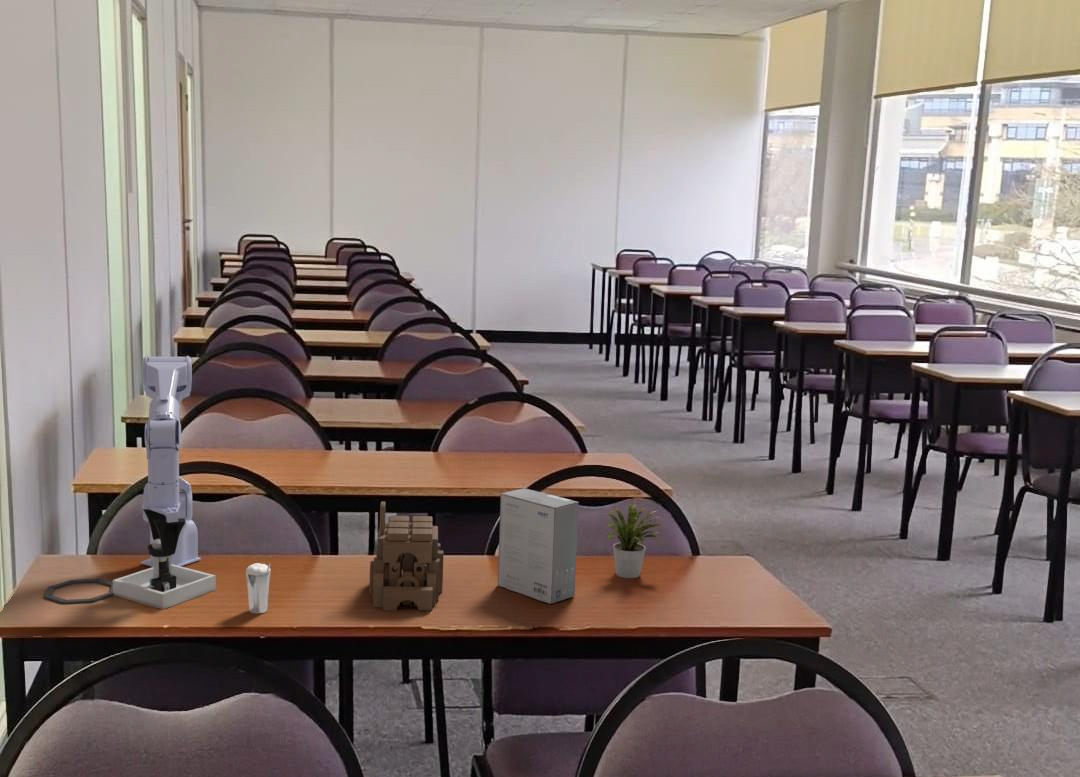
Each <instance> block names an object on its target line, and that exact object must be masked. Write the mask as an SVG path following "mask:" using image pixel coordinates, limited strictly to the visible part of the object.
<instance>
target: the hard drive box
mask: <svg viewBox="0 0 1080 777" xmlns="http://www.w3.org/2000/svg"><path fill="white" fill-rule="evenodd" d="M499 498H500V501H499V502H500V504H499V506H500V507H499V530H498V532H499V534H498V536H499V537H498V538H499V539H498V561H497V562H498V564H497V568H498V570H497V586H499V587H502V588H505V589H507V590H510V591H512V592H516V593H518V594H521V595H523V596H526V597H529V598H532V599H534V600H537V601H540V602H544V603H546V604H549V605H550V604H555V603H557V602H561V601H564V600H566V599H570V598H573V597H575V595H576V575H577V574H576V573H577V571H576V569H577V548H578V525H579V524H578V522H579V520H578V519H579V503H580V502H579V501H575V500H572V499H568V498H564V497H561V496H557V495H553V494H551V493H550V494H548V493H546V492H540V491H538V490H532V489H528V488H519V489H514V490H511V491H506V492H502V493H500V497H499Z"/></svg>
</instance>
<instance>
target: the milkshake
mask: <svg viewBox="0 0 1080 777" xmlns="http://www.w3.org/2000/svg"><path fill="white" fill-rule="evenodd" d="M271 564H272V563H271V562H270V563H268V565H267V564H265V563H260V562H259V563H258V562H255V563H253V564H250V565H248V567H247V568H246V569H245V574H246V585H247V597H248V608H249V609H248V610H249V612H250V613H251V614H255V615H256V614H264V613H266V612H267V611H268V603H269V591H270V590H269V589H270V581H271Z"/></svg>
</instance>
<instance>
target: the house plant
mask: <svg viewBox="0 0 1080 777" xmlns="http://www.w3.org/2000/svg"><path fill="white" fill-rule="evenodd" d="M637 506H638V505H637V502H635V503H633V504H632V500H630V501H629V504H628V509H627V521H626V520H625V518H624V514H623V513H622V511H621V510H619V509H618V508H617V506H614V510H615V511H616V513H617V516H618V518H617V516H616V515H615V514H614V512H613V511H611V510H608V511H609V512H611V513H612V514H611V513H609V512H606V511H605V514H606V515H608V516H609V517H610V519H611V520H612V521H613V522H614V523H615V524H614V523H607V524H606V526H608V527H609V528H611V529H613V531H615V532H616V533H617V534H616V533H615V532H614V533H613V532H608V533H607V536H606V538H607V539H606V540H607V541H608V540H610V539H618V540H619V541H620V542H617V543H616V542H615V543H614V544H613V545H612V549H613V550H612V551H613V559H614V567H615V575H616V576H618V577H619V578H623V579H635V578H639V577H640V575H641V570H642V566H643V561H644V558H645V553H646V549H647V548H646V546H645V545H643V544H642V543H643V541H644V540H645V539H647V538H655V539H658V536H659V537H661V536H660V535H659V534H660V532H659V531H654V530H651V531H650V530H649V531H648V530H647V529H650V528H655V527H659V526H660V527H662V526H666V524H663V523H661V524H660V523H649V522H656V520H654V519H655V518H657V519H658V518H659V519H660V518H662V516H654V517H653V516H652V515H653V514H654V513H656V512H658V511H659V509H655V510H653V511H651V512H649V513H648V514H646V516H645V517H643V518H642V519H641V521H640V522H639V523H637V522H638V519H639V518H640V516H641V514H642V513H643V512H644V510H645V509H646V508H647V507H648V504H646V505H645V506H644V507H643V508H641V509H640V510H639V511H638V510H637ZM651 516H652V517H651ZM648 523H649V524H648ZM635 526H636V528H635ZM646 530H647V531H646ZM654 534H655V535H654Z"/></svg>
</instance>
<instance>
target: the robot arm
mask: <svg viewBox="0 0 1080 777" xmlns="http://www.w3.org/2000/svg"><path fill="white" fill-rule="evenodd" d="M192 364H193V363H192V358H191V357H190V356H189V355H186V356H148V355H145V356H144V357H143V359H142V367H141V368H142V370H141V371H142V372H141V373H142V383H143V391H144V392H145V396H146V397H147V398H150V399H152V400H151V401H150V403H149V408H148V411H149V412H148V421H147V422H148V423H147V422H145V425H144V445H145V451H146V452H145V453H146V460H147V483H146V484H145V485H144V486H143V496H142V504H141V508H142V519H143V520H144V521H145V522H146V523H148V526H149V533H150V534H149V539H150V543H149V545H150V544H152V541H153V540H156V539H160V542H161V548H162V552H163V554H164V555H170V554H173V555H171V564H174V565H178V566H181V567H184V566H186V565H189V564H192V563H195V562H198V561H201V560H202V559H201V558H202V557H199V551H198V549H199V545H198V543H199V542H198V540H199V538H198V537H199V536H198V535H199V534H198V528H197V526H196V523H195V522H194V520H192V518H193V493H192V486H191V484H190V482H189V481H187V480H186V479H184V478H183V477H182V476H180V451H179V450H180V448H181V446H182V424H181V422H180V420H181V419H180V410H181V409H180V408H181V404H182V401H183V400H184V399H185V398H188V397H190V396H191V392H192V384H193V383H192V382H193V381H192V380H193V376H192V375H193V373H192V372H193V367H192V366H193V365H192ZM140 563H141V565H143V566H144V565H145V566H148V567H150V568H152V567H153V556H151V555H150V558H148V559H146V560H143V561H141V562H140Z"/></svg>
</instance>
